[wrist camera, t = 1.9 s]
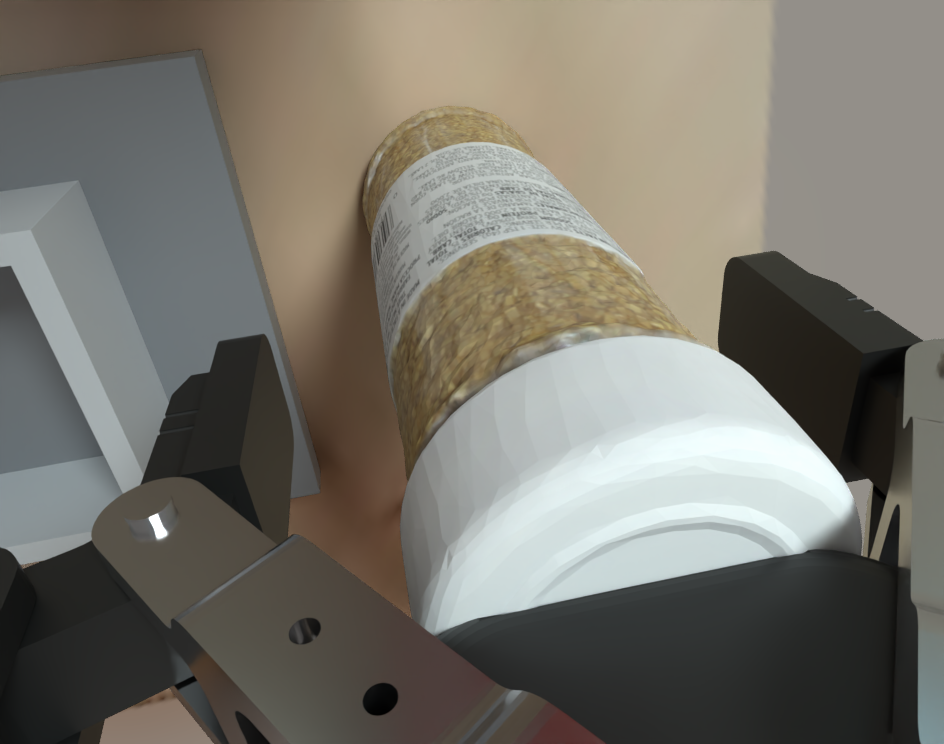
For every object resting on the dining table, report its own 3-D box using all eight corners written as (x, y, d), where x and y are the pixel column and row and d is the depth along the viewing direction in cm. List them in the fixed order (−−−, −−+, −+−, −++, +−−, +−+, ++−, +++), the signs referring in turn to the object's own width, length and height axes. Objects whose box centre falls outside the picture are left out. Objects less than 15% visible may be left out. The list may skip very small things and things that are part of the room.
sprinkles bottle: (501, 294, 20) (731, 779, 9) (338, 252, 18) (359, 770, 7) (565, 132, 18) (982, 491, 6) (388, 70, 16) (527, 396, 5)
